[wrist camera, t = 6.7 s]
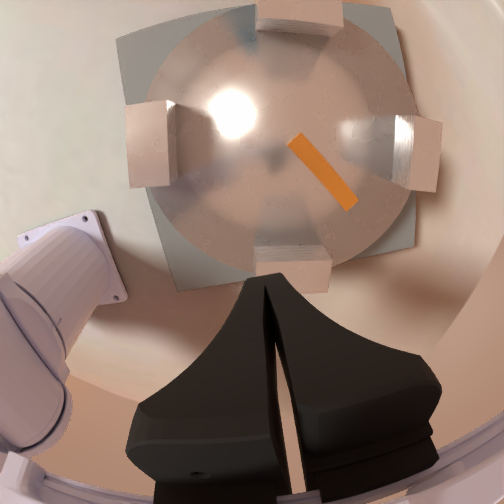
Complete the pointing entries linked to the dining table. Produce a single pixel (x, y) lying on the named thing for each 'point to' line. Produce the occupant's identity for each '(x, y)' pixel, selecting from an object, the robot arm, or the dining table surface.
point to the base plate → (135, 90)
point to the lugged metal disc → (281, 140)
